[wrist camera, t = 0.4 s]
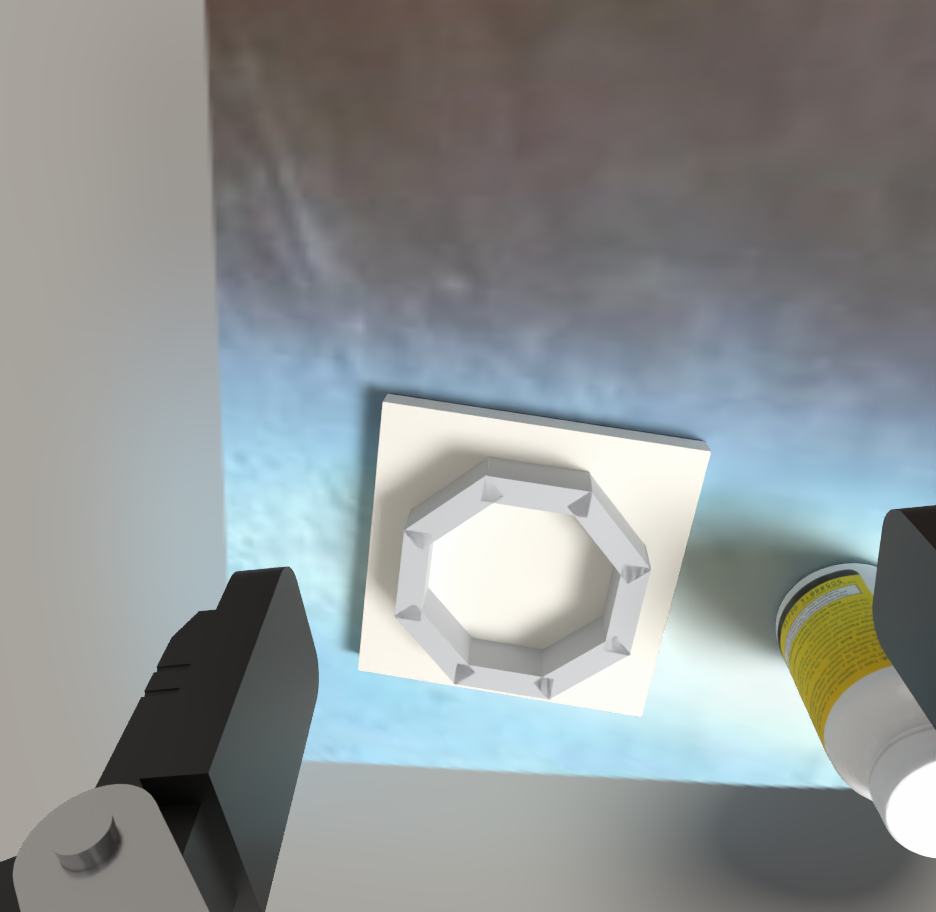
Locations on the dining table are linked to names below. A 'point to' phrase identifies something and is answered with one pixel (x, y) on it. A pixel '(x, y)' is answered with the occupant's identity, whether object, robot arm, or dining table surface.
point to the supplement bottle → (861, 700)
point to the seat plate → (525, 552)
